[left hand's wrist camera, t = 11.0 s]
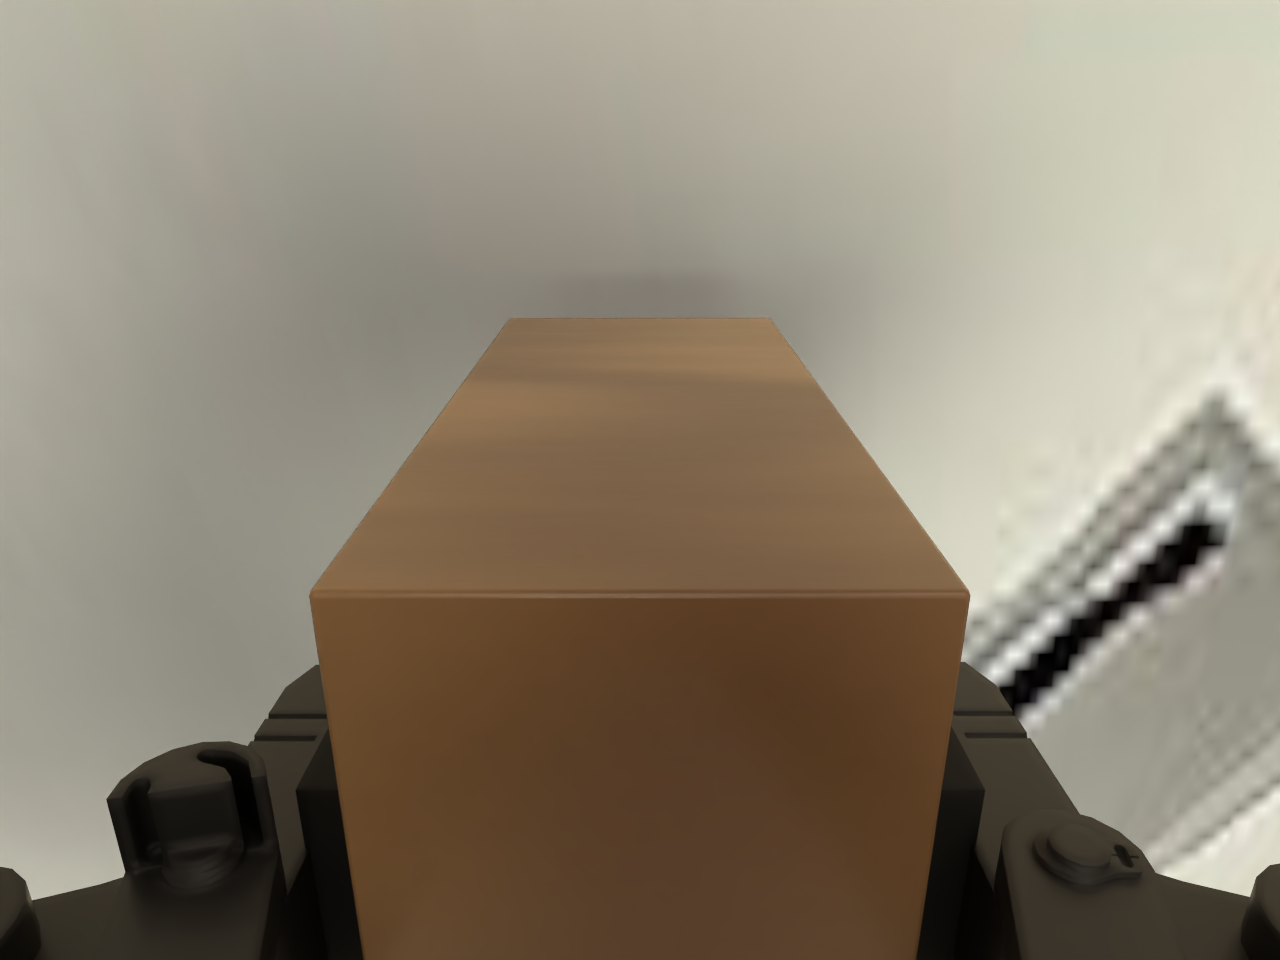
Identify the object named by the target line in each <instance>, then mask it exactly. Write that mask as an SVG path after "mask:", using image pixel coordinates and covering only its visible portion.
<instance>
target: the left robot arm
mask: <svg viewBox="0 0 1280 960" xmlns="http://www.w3.org/2000/svg"><path fill="white" fill-rule="evenodd" d="M106 800H107V804H108V808H109V811H110V815H111V819H112V823H113V826H114V830H115V834H116V838H117V842H118V845H119V849H120V853H121V857H122V861H123V864H124V868H125V875H124V877H123V878H119V879H116V880H113V881H110V882H107V883H103V884H100V885H96V886H92V887H88V888H83V889H79V890H75V891H71V892H66V893H62V894H58V895H54V896H49V897H45V898H41V899H37V900H31V897H30V893H29V890H28V887H27V884H26V881H25V880H24V879H23V878H22V877H21V876H19V875H18V874H17V873H16V872H15V871H14V870H13V869H9V868H4V867H0V960H363V954H362V948H361V941H360V934H359V927H358V921H357V914H356V907H355V901H354V894H353V887H352V880H351V874H350V867H349V860H348V853H347V847H346V840H345V833H344V827H343V820H342V813H341V806H340V800H339V793H338V786H337V779H336V773H335V766H334V759H333V753H332V746H331V739H330V732H329V726H328V719H327V712H326V705H325V699H324V692H323V685H322V679H321V672H320V665H315V666H314V667H313V668H311V669H310V670H309V671H307V672H306V673H305V674H303V675H302V676H300V677H299V678H298V679H296V680H295V681H294V682H292V683H291V684H290V685H288V686H287V687H286V688H285V689H284V691H283V692H282V694H281V696H280V697H279V699H278V700H277V702H276V703H275V705H274V706H273V708H272V709H271V711H270V713H269V717H268V719H265V720H264V722H263V723H262V725H261V726H260V728H259V730H258V731H257V733H256V734H255V739H254V741H251V742H250V743H249V745H248V746H245V745H241V744H237V743H233V742H230V741H228V742H201V743H197V744H193V745H189V746H185V747H181V748H177V749H173V750H171V751H168V752H166V753H164V754H162V755H160V756H157V757H155V758H153V759H151V760H149V761H147V762H144V763H143V764H142V765H140V766H139V767H138V768H136V769H135V770H134V771H132V772H131V773H129V774H128V775H127V776H125V777H124V778H123V779H121V780H120V782H119V783H118V784H117V786H116V787H115V788H114V790H113V791H112V793H111V794H110V795H109V797H108V798H107V799H106ZM916 960H1280V864H1275V865H1270V866H1269V867H1267V868H1266V869H1265V870H1264V871H1263V872H1262V873H1261V874H1260V875H1258V876H1257V877H1256V880H1255V883H1254V887H1253V890H1252V893H1251V896H1250V897H1247V896H1243V895H1238V894H1234V893H1230V892H1226V891H1221V890H1217V889H1213V888H1208V887H1204V886H1200V885H1196V884H1191V883H1187V882H1183V881H1180V880H1176V879H1173V878H1170V877H1167V876H1163V875H1160V874H1157V873H1155V871H1154V869H1153V868H1152V866H1151V865H1150V863H1149V862H1148V860H1147V858H1146V857H1145V855H1144V854H1143V852H1142V851H1141V850H1140V849H1139V848H1138V847H1137V846H1136V845H1134V844H1133V843H1132V842H1131V841H1130V840H1128V839H1127V838H1126V837H1125V836H1124V835H1123V834H1121V833H1120V832H1119V831H1117V830H1115V829H1113V828H1111V827H1109V826H1107V825H1105V824H1103V823H1101V822H1099V821H1097V820H1096V819H1094V818H1091V817H1088V816H1084V815H1080V814H1079V812H1078V811H1077V809H1076V808H1075V806H1074V805H1073V803H1072V802H1071V800H1070V798H1069V797H1068V795H1067V794H1066V792H1065V791H1064V789H1063V788H1062V786H1061V785H1060V783H1059V782H1058V780H1057V779H1056V777H1055V775H1054V774H1053V772H1052V771H1051V769H1050V768H1049V766H1048V765H1047V763H1046V762H1045V760H1044V759H1043V757H1042V755H1041V754H1040V752H1039V751H1038V749H1037V748H1036V746H1035V745H1034V743H1033V742H1032V740H1031V739H1030V738H1027V732H1026V731H1025V729H1024V728H1023V726H1022V725H1021V723H1020V722H1019V720H1018V719H1017V717H1016V716H1013V714H1012V709H1011V708H1010V706H1009V705H1008V703H1007V702H1006V700H1005V699H1004V697H1003V696H1002V694H1001V693H1000V691H999V690H998V688H997V686H996V685H995V684H994V683H992V682H991V681H990V680H988V679H987V678H986V677H984V676H983V675H982V674H980V673H979V672H977V671H976V670H975V669H973V668H972V667H971V666H969V665H968V664H967V663H965V662H960V668H959V675H958V682H957V689H956V695H955V702H954V709H953V716H952V722H951V729H950V736H949V743H948V749H947V756H946V763H945V769H944V776H943V783H942V790H941V796H940V803H939V810H938V817H937V823H936V830H935V837H934V844H933V850H932V857H931V864H930V870H929V877H928V884H927V891H926V897H925V904H924V911H923V918H922V924H921V931H920V938H919V945H918V951H917V958H916Z"/></svg>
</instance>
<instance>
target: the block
mask: <svg viewBox="0 0 1280 960" xmlns="http://www.w3.org/2000/svg"><path fill="white" fill-rule="evenodd" d="M309 598H310V605H311V611H312V618H313V625H314V631H315V638H316V645H317V652H318V658H319V665H320V672H321V679H322V685H323V692H324V699H325V705H326V712H327V719H328V726H329V732H330V739H331V746H332V753H333V759H334V766H335V773H336V779H337V786H338V793H339V800H340V806H341V813H342V820H343V827H344V833H345V840H346V847H347V853H348V860H349V867H350V874H351V880H352V887H353V894H354V901H355V907H356V914H357V921H358V927H359V934H360V941H361V948H362V954H363V960H916V958H917V951H918V945H919V938H920V931H921V924H922V918H923V911H924V904H925V897H926V891H927V884H928V877H929V870H930V864H931V857H932V850H933V844H934V837H935V830H936V823H937V817H938V810H939V803H940V796H941V790H942V783H943V776H944V769H945V763H946V756H947V749H948V743H949V736H950V729H951V722H952V716H953V709H954V702H955V695H956V689H957V682H958V675H959V668H960V662H961V655H962V648H963V642H964V635H965V628H966V621H967V615H968V608H969V601H970V593H969V590H968V589H967V588H966V586H965V585H964V583H963V582H962V581H961V579H960V578H959V577H958V575H957V574H956V573H955V571H954V570H953V568H952V567H951V566H950V564H949V563H948V562H947V560H946V559H945V557H944V556H943V555H942V553H941V552H940V551H939V549H938V548H937V546H936V545H935V544H934V542H933V541H932V540H931V538H930V537H929V536H928V534H927V533H926V531H925V530H924V529H923V527H922V526H921V525H920V523H919V522H918V520H917V519H916V518H915V516H914V515H913V514H912V512H911V511H910V510H909V508H908V507H907V505H906V504H905V503H904V501H903V500H902V499H901V497H900V496H899V494H898V493H897V492H896V490H895V489H894V488H893V486H892V485H891V484H890V482H889V481H888V479H887V478H886V477H885V475H884V474H883V473H882V471H881V470H880V468H879V467H878V466H877V464H876V463H875V462H874V460H873V459H872V457H871V456H870V455H869V453H868V452H867V451H866V449H865V448H864V447H863V445H862V444H861V442H860V441H859V440H858V438H857V437H856V436H855V434H854V433H853V431H852V430H851V429H850V427H849V426H848V425H847V423H846V422H845V421H844V419H843V418H842V416H841V415H840V414H839V412H838V411H837V410H836V408H835V407H834V405H833V404H832V403H831V401H830V400H829V399H828V397H827V396H826V395H825V393H824V392H823V390H822V389H821V388H820V386H819V385H818V384H817V382H816V381H815V379H814V378H813V377H812V375H811V374H810V373H809V371H808V370H807V368H806V367H805V366H804V364H803V363H802V362H801V360H800V359H799V358H798V356H797V355H796V353H795V352H794V351H793V349H792V348H791V347H790V345H789V344H788V342H787V341H786V340H785V338H784V337H783V336H782V334H781V333H780V332H779V330H778V329H777V327H776V326H775V325H774V323H773V322H772V321H771V319H769V318H511V319H509V320H508V322H507V323H506V324H505V326H504V327H503V328H502V330H501V331H500V333H499V334H498V335H497V337H496V338H495V339H494V341H493V342H492V344H491V345H490V346H489V348H488V349H487V350H486V352H485V353H484V354H483V356H482V357H481V359H480V360H479V361H478V363H477V364H476V365H475V367H474V368H473V370H472V371H471V372H470V374H469V375H468V376H467V378H466V379H465V380H464V382H463V383H462V385H461V386H460V387H459V389H458V390H457V391H456V393H455V394H454V395H453V397H452V398H451V400H450V401H449V402H448V404H447V405H446V406H445V408H444V409H443V411H442V412H441V413H440V415H439V416H438V417H437V419H436V420H435V421H434V423H433V424H432V426H431V427H430V428H429V430H428V431H427V432H426V434H425V435H424V436H423V438H422V439H421V441H420V442H419V443H418V445H417V446H416V447H415V449H414V450H413V452H412V453H411V454H410V456H409V457H408V458H407V460H406V461H405V462H404V464H403V465H402V467H401V468H400V469H399V471H398V472H397V473H396V475H395V476H394V477H393V479H392V480H391V482H390V483H389V484H388V486H387V487H386V488H385V490H384V491H383V493H382V494H381V495H380V497H379V498H378V499H377V501H376V502H375V503H374V505H373V506H372V508H371V509H370V510H369V512H368V513H367V514H366V516H365V517H364V519H363V520H362V521H361V523H360V524H359V525H358V527H357V528H356V529H355V531H354V532H353V534H352V535H351V536H350V538H349V539H348V540H347V542H346V543H345V544H344V546H343V547H342V549H341V550H340V551H339V553H338V554H337V555H336V557H335V558H334V560H333V561H332V562H331V564H330V565H329V566H328V568H327V569H326V570H325V572H324V573H323V575H322V576H321V577H320V579H319V580H318V581H317V583H316V584H315V585H314V587H313V588H312V590H311V591H310V595H309Z"/></svg>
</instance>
